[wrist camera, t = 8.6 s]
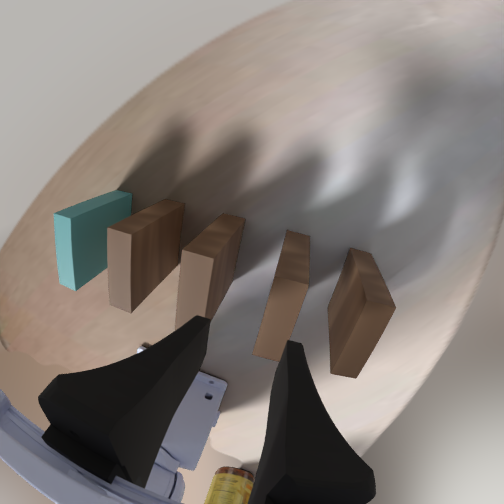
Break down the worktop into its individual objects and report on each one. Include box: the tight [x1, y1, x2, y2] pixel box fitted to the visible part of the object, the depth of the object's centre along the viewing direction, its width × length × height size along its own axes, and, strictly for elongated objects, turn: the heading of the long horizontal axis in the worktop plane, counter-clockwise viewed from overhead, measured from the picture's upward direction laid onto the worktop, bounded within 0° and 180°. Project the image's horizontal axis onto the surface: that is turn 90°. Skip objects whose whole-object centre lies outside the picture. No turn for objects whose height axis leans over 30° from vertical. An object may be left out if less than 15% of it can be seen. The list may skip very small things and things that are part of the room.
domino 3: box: [175, 213, 245, 330], centre depth 18 cm, size 2×5×7 cm, turn 168°
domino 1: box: [54, 190, 132, 291], centre depth 19 cm, size 2×5×7 cm, turn 168°
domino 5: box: [328, 248, 396, 378], centre depth 17 cm, size 2×5×7 cm, turn 168°
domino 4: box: [252, 230, 310, 362], centre depth 17 cm, size 2×5×7 cm, turn 168°
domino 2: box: [107, 199, 185, 313], centre depth 18 cm, size 2×5×7 cm, turn 168°
